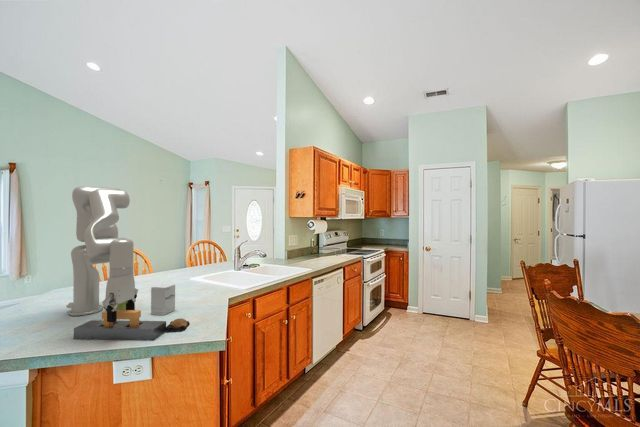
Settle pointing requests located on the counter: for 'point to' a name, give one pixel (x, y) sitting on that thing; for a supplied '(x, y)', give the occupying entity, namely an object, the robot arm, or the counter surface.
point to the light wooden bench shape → (124, 317)
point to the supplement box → (162, 299)
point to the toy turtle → (177, 325)
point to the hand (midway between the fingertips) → (121, 317)
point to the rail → (120, 330)
